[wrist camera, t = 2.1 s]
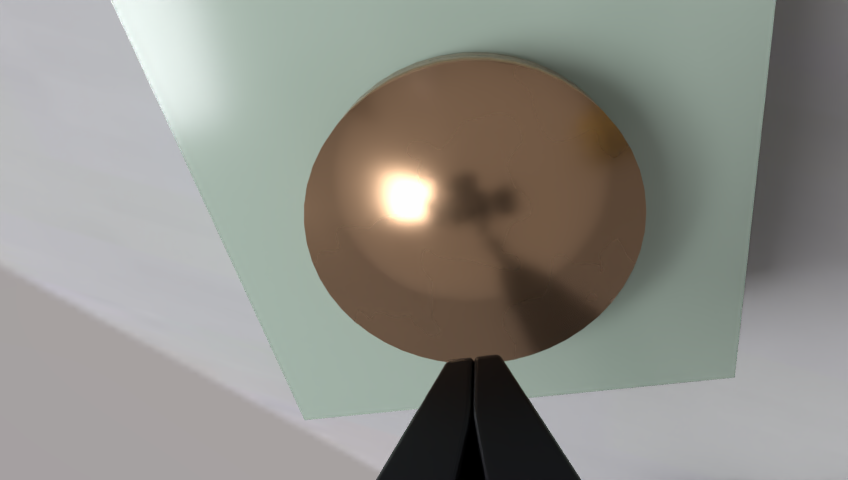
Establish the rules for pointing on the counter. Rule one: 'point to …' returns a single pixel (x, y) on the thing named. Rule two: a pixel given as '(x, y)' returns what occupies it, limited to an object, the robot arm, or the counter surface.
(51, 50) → the counter surface
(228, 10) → the base
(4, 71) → the counter surface
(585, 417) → the counter surface
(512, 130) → the copper round dome
